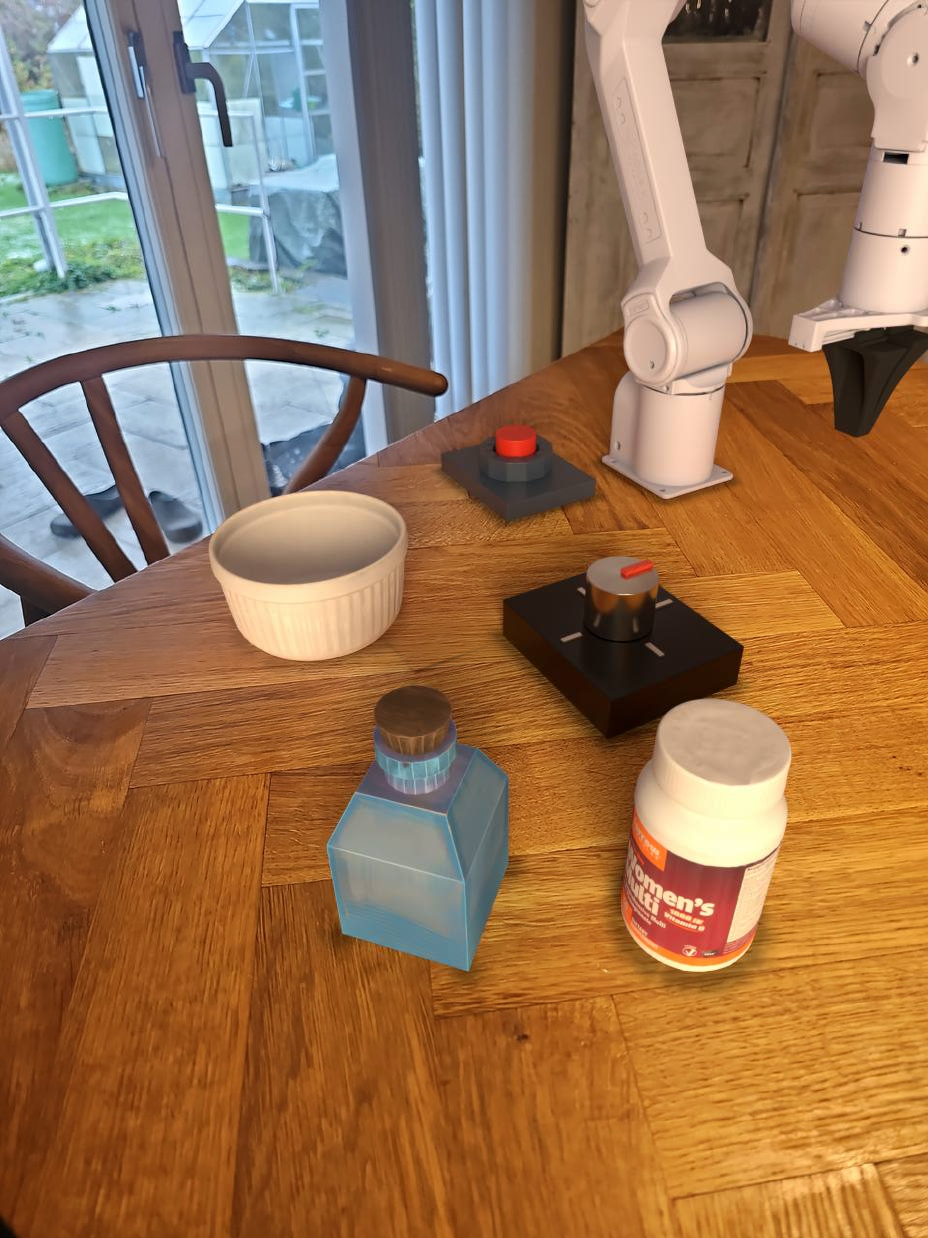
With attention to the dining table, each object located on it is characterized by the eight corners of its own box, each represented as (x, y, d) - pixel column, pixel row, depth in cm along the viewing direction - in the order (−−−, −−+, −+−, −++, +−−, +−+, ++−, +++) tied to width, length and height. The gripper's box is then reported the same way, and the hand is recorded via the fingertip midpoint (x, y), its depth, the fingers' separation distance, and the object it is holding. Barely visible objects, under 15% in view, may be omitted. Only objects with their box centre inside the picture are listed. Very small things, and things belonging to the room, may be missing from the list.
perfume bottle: (508, 863, 42) (509, 677, 35) (468, 971, 38) (460, 781, 31) (394, 834, 44) (373, 651, 37) (342, 933, 39) (308, 745, 32)
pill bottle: (594, 925, 39) (612, 748, 33) (660, 843, 43) (688, 670, 37) (717, 1005, 36) (763, 825, 30) (777, 908, 40) (830, 730, 33)
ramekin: (239, 574, 66) (222, 493, 62) (409, 562, 66) (403, 481, 62) (213, 683, 55) (191, 593, 51) (417, 667, 55) (410, 577, 51)
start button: (488, 448, 76) (487, 430, 75) (522, 439, 77) (522, 421, 76) (508, 463, 73) (509, 444, 72) (543, 453, 75) (544, 435, 74)
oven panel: (502, 635, 58) (502, 597, 56) (620, 593, 62) (623, 556, 60) (607, 740, 49) (611, 698, 48) (737, 684, 53) (745, 644, 51)
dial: (611, 649, 51) (616, 597, 49) (569, 614, 55) (572, 564, 52) (668, 627, 53) (674, 576, 51) (624, 594, 56) (629, 545, 54)
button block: (441, 470, 80) (439, 435, 78) (522, 449, 83) (523, 415, 81) (507, 522, 71) (507, 484, 69) (594, 496, 75) (597, 460, 73)
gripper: (875, 255, 48) (823, 475, 56) (1034, 224, 53) (966, 428, 61) (781, 234, 53) (746, 438, 61) (935, 208, 59) (884, 398, 66)
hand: (851, 431), depth 61 cm, fingers closed
